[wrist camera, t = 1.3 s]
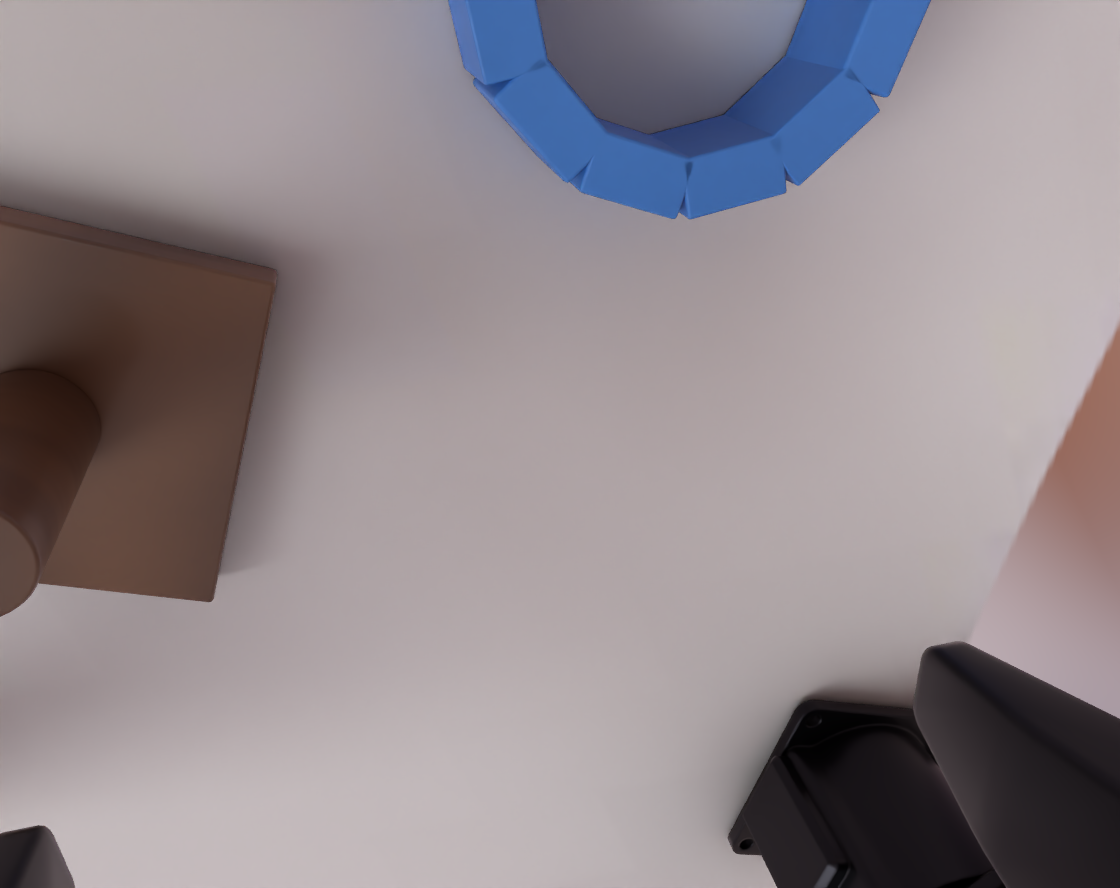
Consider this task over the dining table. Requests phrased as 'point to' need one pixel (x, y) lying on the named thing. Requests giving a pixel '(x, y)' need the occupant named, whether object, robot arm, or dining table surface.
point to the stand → (121, 407)
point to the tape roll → (706, 146)
